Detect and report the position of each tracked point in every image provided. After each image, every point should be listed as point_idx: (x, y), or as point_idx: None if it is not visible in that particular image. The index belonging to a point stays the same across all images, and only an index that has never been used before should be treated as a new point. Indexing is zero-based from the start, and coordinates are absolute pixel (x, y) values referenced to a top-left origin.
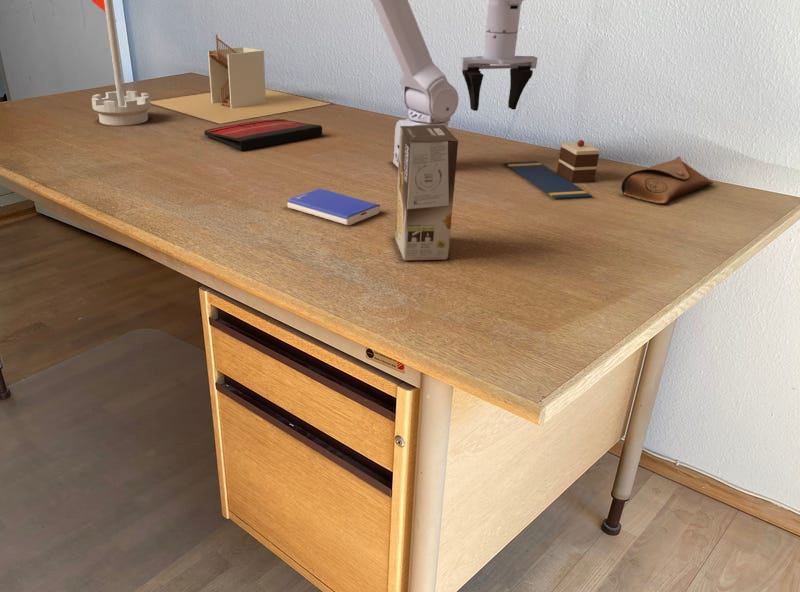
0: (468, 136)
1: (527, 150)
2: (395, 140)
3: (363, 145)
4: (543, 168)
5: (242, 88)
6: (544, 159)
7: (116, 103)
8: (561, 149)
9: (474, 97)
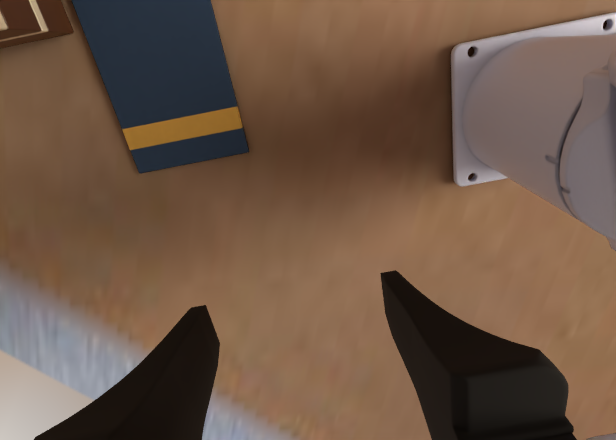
0: (306, 414)
1: (159, 302)
2: None
3: (610, 325)
4: (120, 79)
5: None
6: (111, 211)
7: None
8: (10, 18)
9: (427, 299)
